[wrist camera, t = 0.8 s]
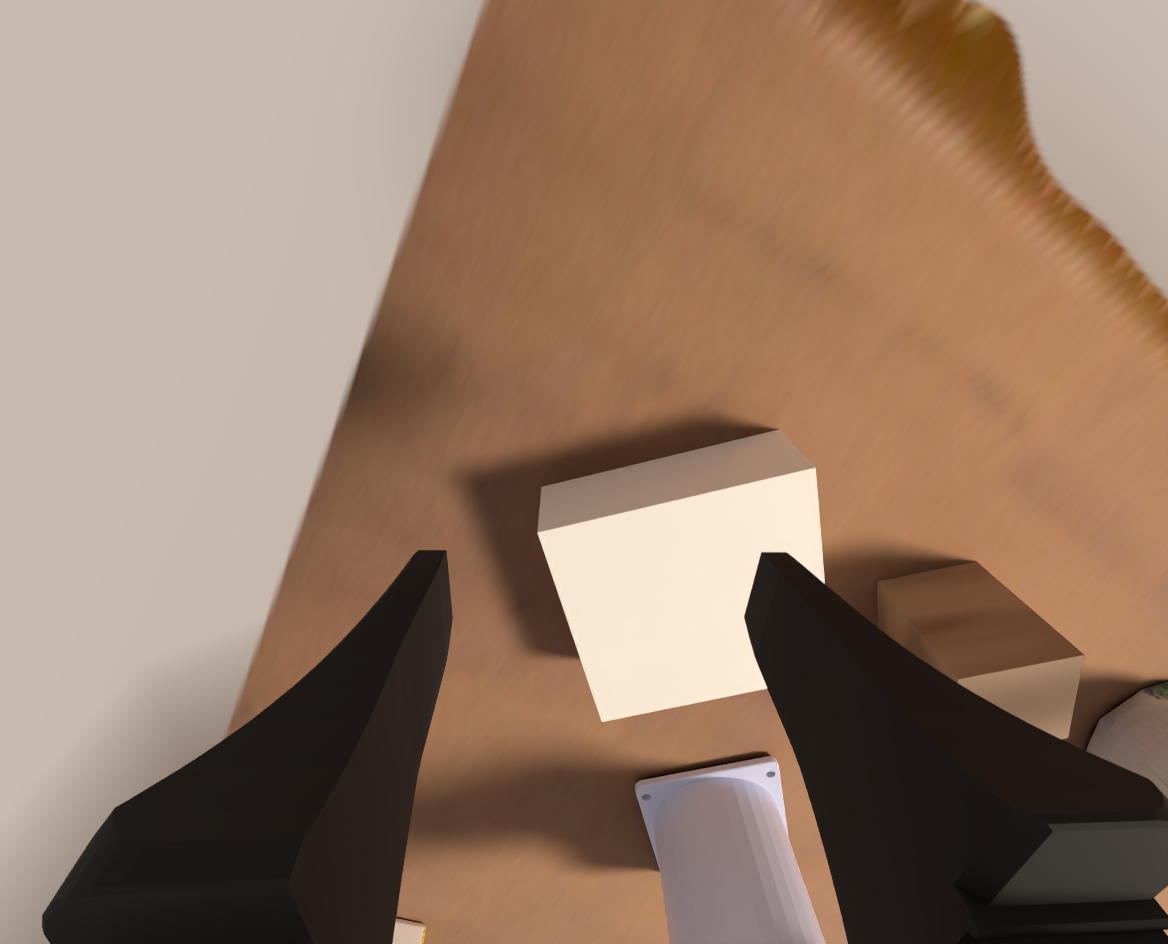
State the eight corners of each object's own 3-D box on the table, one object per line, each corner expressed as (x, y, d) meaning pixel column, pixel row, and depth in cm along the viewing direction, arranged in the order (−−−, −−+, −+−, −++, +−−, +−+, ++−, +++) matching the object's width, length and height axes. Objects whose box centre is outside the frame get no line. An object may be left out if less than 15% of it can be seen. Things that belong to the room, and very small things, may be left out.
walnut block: (969, 633, 28) (1067, 737, 22) (877, 652, 28) (952, 759, 23) (975, 560, 26) (1084, 655, 20) (876, 581, 26) (958, 679, 21)
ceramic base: (797, 612, 27) (832, 675, 24) (597, 655, 28) (601, 721, 24) (776, 426, 23) (815, 467, 19) (541, 483, 24) (537, 532, 20)
